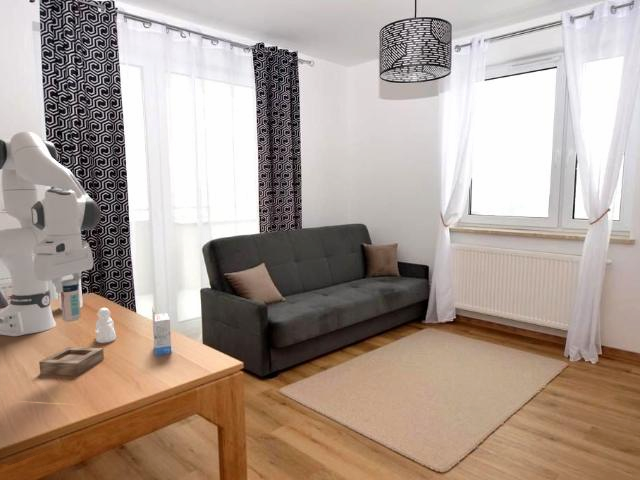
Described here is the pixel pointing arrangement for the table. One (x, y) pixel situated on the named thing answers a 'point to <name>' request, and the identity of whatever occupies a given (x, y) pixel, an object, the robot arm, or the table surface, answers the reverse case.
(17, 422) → the table surface
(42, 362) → the brown square tray
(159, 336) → the ink box
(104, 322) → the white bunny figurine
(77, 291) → the beer can
